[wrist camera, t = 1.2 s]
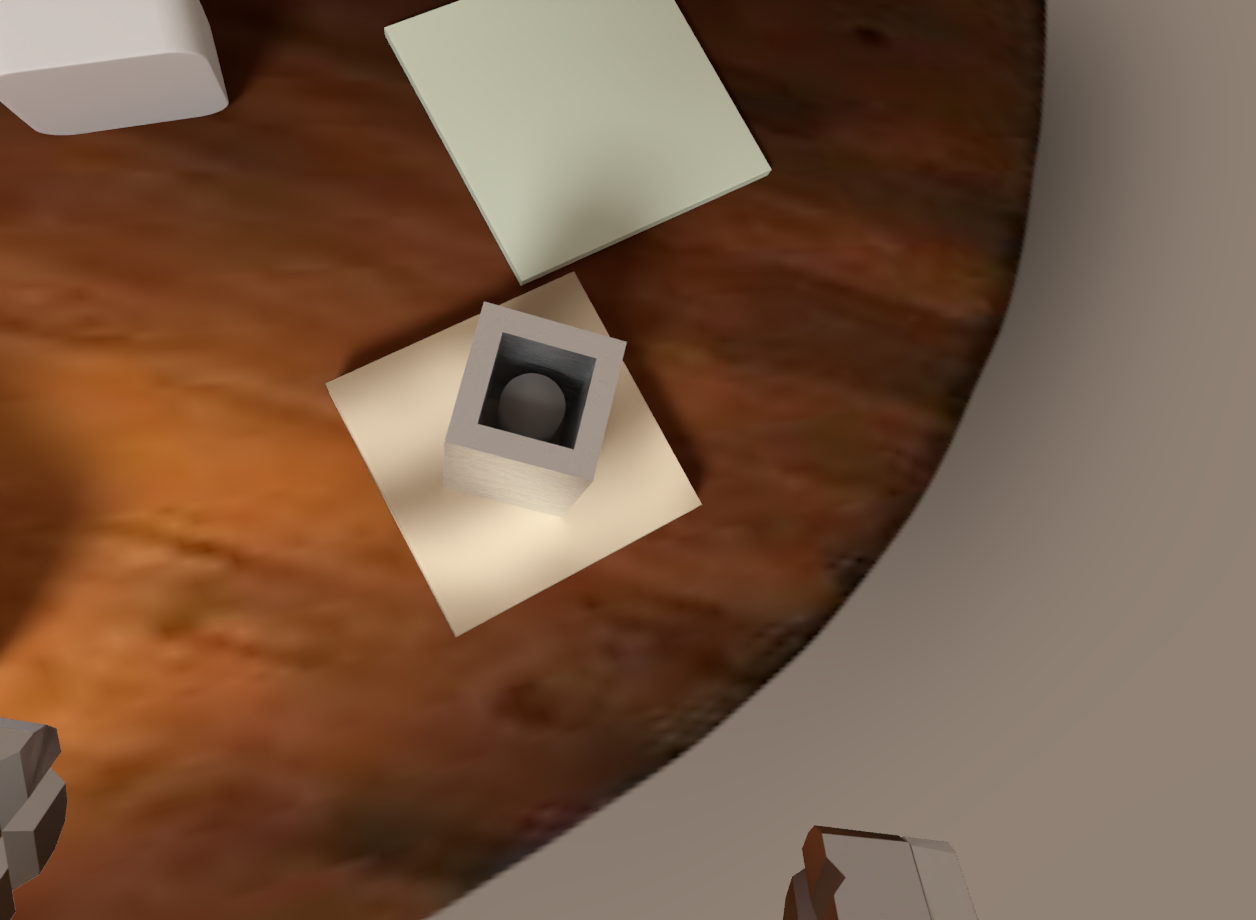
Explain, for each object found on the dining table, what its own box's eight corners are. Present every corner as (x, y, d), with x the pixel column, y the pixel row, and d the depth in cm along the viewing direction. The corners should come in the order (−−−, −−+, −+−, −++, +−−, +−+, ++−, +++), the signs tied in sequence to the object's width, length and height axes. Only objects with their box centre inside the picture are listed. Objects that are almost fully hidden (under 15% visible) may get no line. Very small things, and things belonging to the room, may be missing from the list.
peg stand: (330, 395, 44) (304, 330, 36) (568, 287, 47) (597, 202, 39) (455, 637, 43) (460, 630, 35) (690, 510, 46) (749, 475, 38)
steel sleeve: (561, 517, 43) (593, 480, 34) (443, 487, 42) (444, 441, 34) (589, 405, 44) (626, 342, 36) (474, 373, 44) (483, 301, 35)
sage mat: (384, 35, 48) (384, 27, 48) (635, -56, 52) (637, -64, 51) (520, 286, 47) (521, 281, 46) (767, 175, 50) (771, 169, 50)
